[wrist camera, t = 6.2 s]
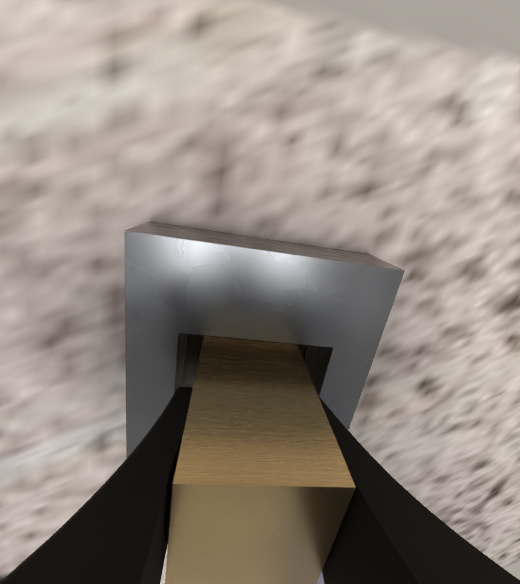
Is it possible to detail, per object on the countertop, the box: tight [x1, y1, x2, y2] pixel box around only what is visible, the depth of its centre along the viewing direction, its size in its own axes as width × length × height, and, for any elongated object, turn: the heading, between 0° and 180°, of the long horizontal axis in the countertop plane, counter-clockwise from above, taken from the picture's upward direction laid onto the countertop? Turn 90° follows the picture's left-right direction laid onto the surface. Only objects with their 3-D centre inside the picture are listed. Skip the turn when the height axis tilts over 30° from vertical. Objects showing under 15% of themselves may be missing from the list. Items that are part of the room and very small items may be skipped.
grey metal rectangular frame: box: [125, 222, 404, 458], centre depth 12 cm, size 9×12×2 cm
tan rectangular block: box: [165, 336, 356, 584], centre depth 9 cm, size 4×4×6 cm
